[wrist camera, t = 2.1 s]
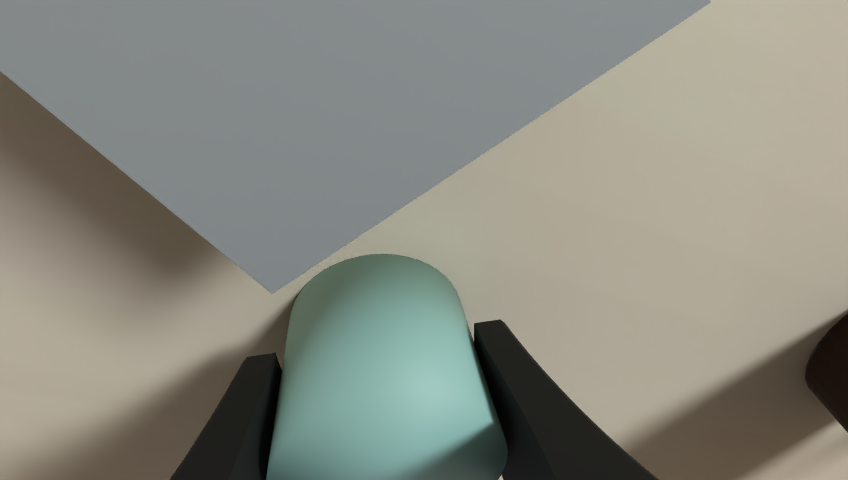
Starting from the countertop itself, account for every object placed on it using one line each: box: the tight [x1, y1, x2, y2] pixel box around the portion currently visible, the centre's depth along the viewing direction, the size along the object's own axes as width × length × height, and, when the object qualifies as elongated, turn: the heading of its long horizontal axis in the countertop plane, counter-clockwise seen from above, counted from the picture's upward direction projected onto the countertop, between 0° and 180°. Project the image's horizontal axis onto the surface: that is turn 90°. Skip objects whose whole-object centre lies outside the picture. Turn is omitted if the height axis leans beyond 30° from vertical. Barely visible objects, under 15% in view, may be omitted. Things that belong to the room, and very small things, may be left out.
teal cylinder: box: [266, 254, 508, 480], centre depth 10 cm, size 4×4×4 cm
